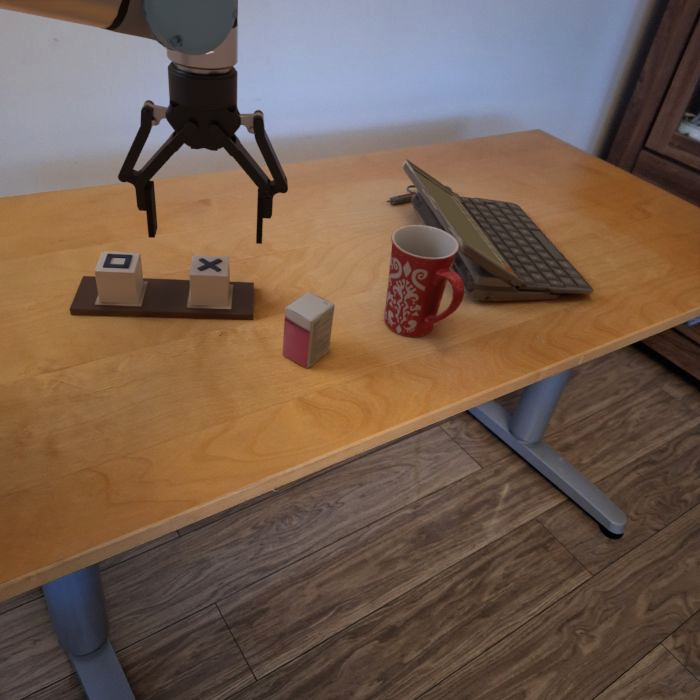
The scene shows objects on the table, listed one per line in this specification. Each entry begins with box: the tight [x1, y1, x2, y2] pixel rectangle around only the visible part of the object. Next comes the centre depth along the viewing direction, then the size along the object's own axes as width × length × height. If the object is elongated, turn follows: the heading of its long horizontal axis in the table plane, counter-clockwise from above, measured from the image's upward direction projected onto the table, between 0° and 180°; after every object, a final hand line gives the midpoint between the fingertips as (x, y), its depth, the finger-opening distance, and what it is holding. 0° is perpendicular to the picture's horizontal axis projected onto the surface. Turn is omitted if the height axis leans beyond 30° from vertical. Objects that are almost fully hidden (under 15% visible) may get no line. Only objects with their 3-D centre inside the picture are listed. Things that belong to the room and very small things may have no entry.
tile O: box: [93, 250, 144, 304], centre depth 84 cm, size 5×5×5 cm
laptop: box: [401, 159, 594, 302], centre depth 106 cm, size 26×32×10 cm
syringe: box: [382, 184, 453, 205], centre depth 121 cm, size 8×18×2 cm, turn 124°
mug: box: [383, 224, 465, 338], centre depth 84 cm, size 13×9×14 cm
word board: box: [69, 275, 255, 321], centre depth 87 cm, size 24×8×1 cm, turn 96°
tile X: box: [188, 254, 231, 306], centre depth 86 cm, size 5×5×5 cm
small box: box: [282, 291, 336, 369], centre depth 79 cm, size 5×4×8 cm
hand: (206, 235), depth 81 cm, fingers open, 13 cm apart
